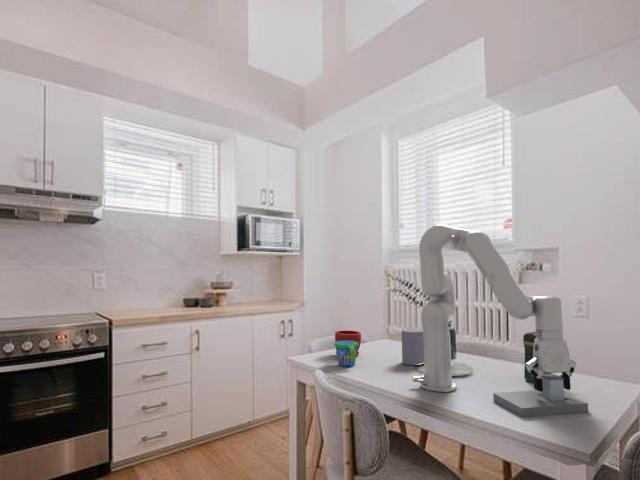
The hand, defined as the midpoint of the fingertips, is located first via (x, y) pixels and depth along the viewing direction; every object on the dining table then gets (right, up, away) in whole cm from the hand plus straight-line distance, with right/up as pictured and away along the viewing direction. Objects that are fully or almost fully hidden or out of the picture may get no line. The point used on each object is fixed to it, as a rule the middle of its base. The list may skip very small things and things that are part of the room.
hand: (552, 389), depth 122 cm
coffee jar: (+10, -7, +25) cm, 28 cm away
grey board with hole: (-5, -5, -1) cm, 7 cm away
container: (-31, -9, +54) cm, 63 cm away
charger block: (0, -5, 0) cm, 5 cm away
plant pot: (-60, -11, +71) cm, 93 cm away
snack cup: (-62, -10, +53) cm, 82 cm away
